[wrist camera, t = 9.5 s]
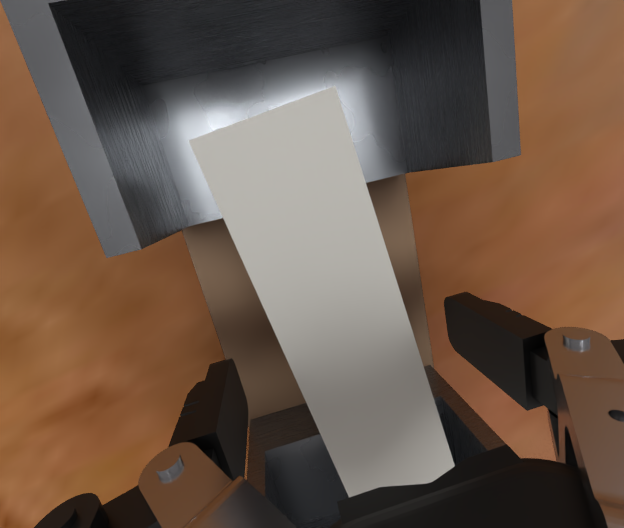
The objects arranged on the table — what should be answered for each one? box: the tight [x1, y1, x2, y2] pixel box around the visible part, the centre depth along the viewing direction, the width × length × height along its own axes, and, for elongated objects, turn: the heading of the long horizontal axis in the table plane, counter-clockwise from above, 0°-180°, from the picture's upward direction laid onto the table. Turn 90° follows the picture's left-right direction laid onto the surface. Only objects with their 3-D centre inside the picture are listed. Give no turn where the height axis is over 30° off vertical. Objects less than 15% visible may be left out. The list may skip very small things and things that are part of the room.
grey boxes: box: [0, 0, 521, 528], centre depth 13 cm, size 23×11×8 cm, turn 13°
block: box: [189, 86, 455, 497], centre depth 12 cm, size 16×4×4 cm, turn 21°
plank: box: [182, 173, 434, 429], centre depth 17 cm, size 25×11×2 cm, turn 13°
